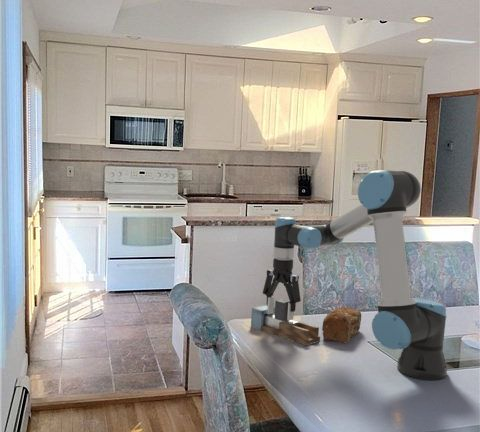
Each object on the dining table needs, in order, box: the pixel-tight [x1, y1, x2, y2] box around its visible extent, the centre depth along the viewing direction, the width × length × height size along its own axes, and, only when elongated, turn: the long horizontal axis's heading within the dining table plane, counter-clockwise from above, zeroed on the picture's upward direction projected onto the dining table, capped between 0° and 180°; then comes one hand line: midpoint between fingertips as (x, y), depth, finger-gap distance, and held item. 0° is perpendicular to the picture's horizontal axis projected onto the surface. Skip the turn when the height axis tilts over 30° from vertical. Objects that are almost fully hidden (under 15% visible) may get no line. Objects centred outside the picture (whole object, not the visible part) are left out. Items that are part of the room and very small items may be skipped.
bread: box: [321, 306, 362, 344], centre depth 213 cm, size 19×11×10 cm, turn 153°
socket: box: [250, 304, 275, 331], centre depth 219 cm, size 5×8×8 cm, turn 137°
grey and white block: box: [263, 298, 300, 329], centre depth 213 cm, size 16×4×11 cm, turn 47°
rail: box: [260, 318, 321, 346], centre depth 212 cm, size 27×8×5 cm, turn 47°
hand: (280, 316), depth 213 cm, fingers open, 9 cm apart
